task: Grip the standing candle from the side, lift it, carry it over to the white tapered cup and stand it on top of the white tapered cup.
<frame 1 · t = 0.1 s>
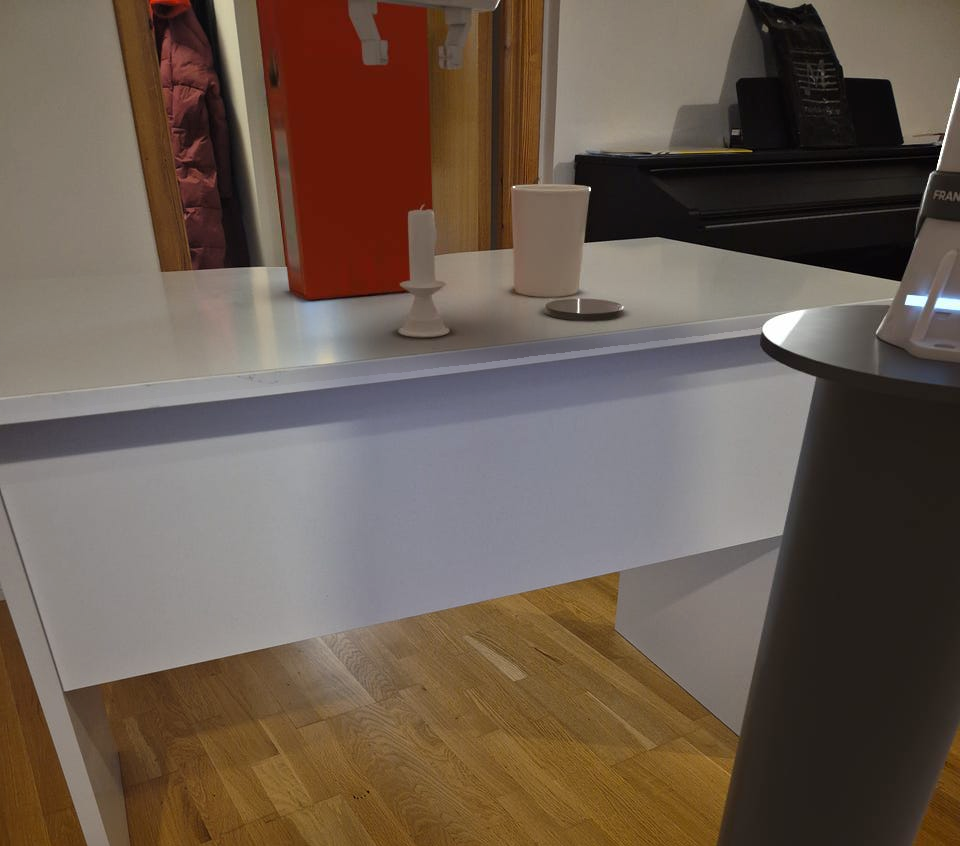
hand: (414, 67, 76), 23 cm above the table, tool pointing down, fingers open, 8 cm apart
slate coaster: (583, 312, 97), on the table
file binder: (362, 292, 109), on the table
white tapered cup: (546, 292, 109), on the table
candle: (424, 334, 88), on the table
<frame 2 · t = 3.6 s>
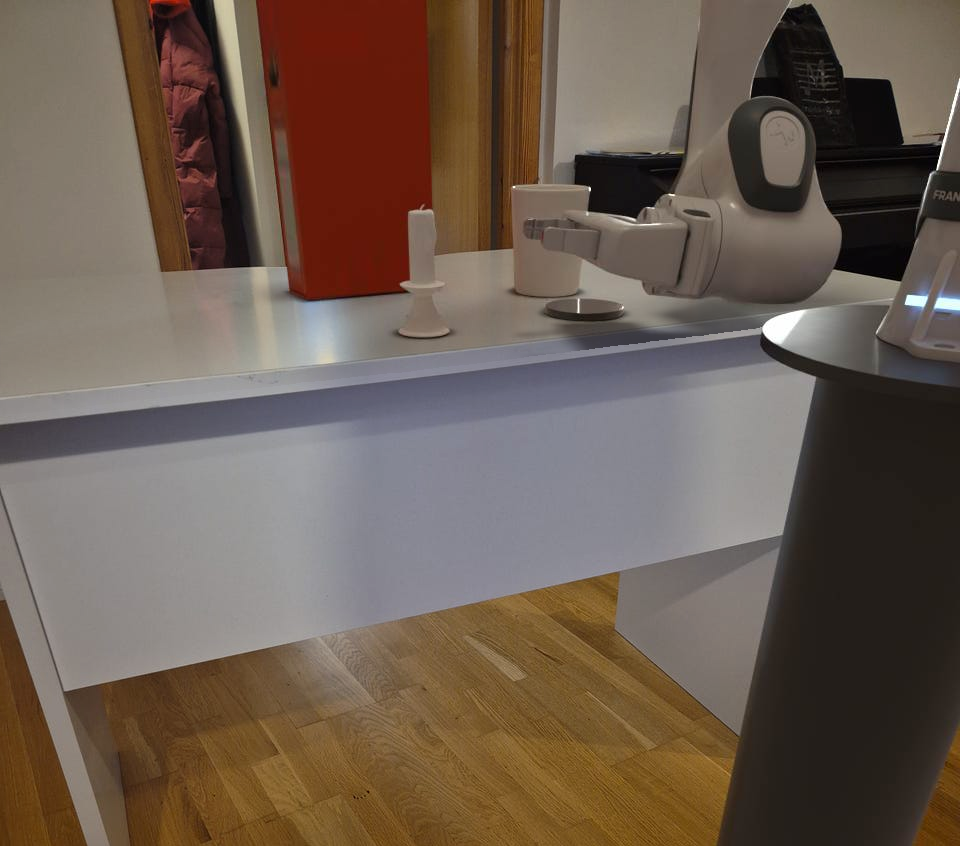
hand: (532, 232, 78), 10 cm above the table, tool horizontal, fingers open, 8 cm apart
nothing on the table moved.
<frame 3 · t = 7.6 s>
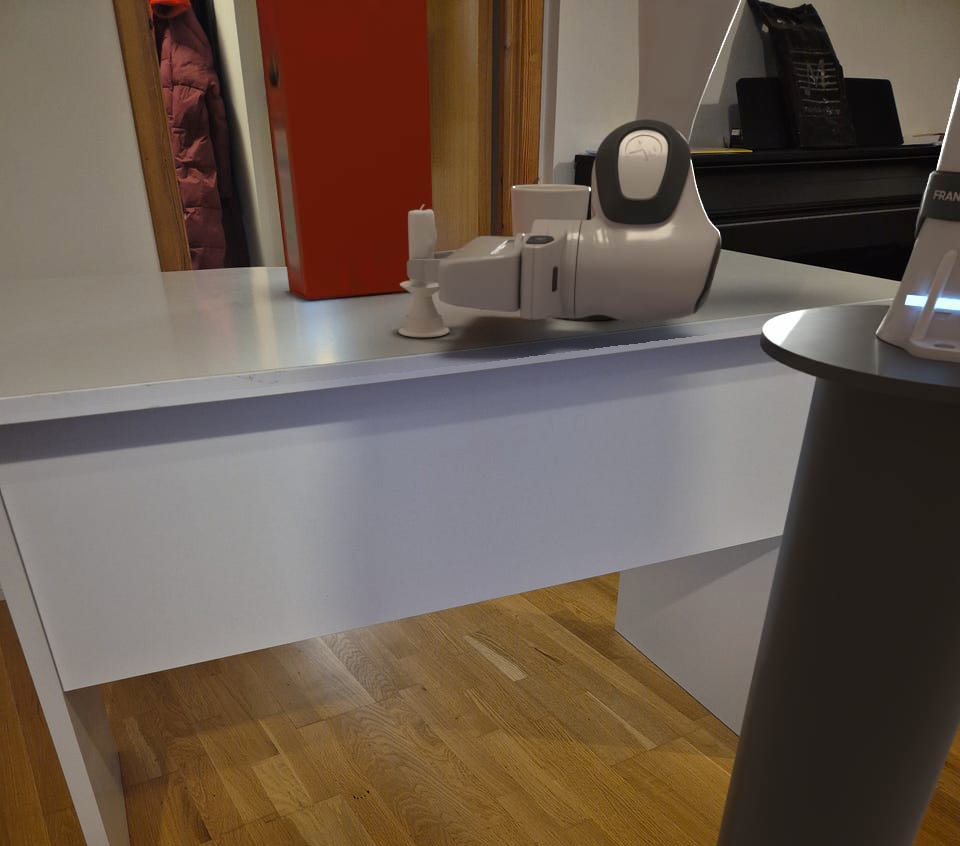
hand: (413, 265, 85), 7 cm above the table, tool horizontal, fingers closed on candle, 2 cm apart
candle: (424, 334, 88), on the table, touching gripper
everything else where it was.
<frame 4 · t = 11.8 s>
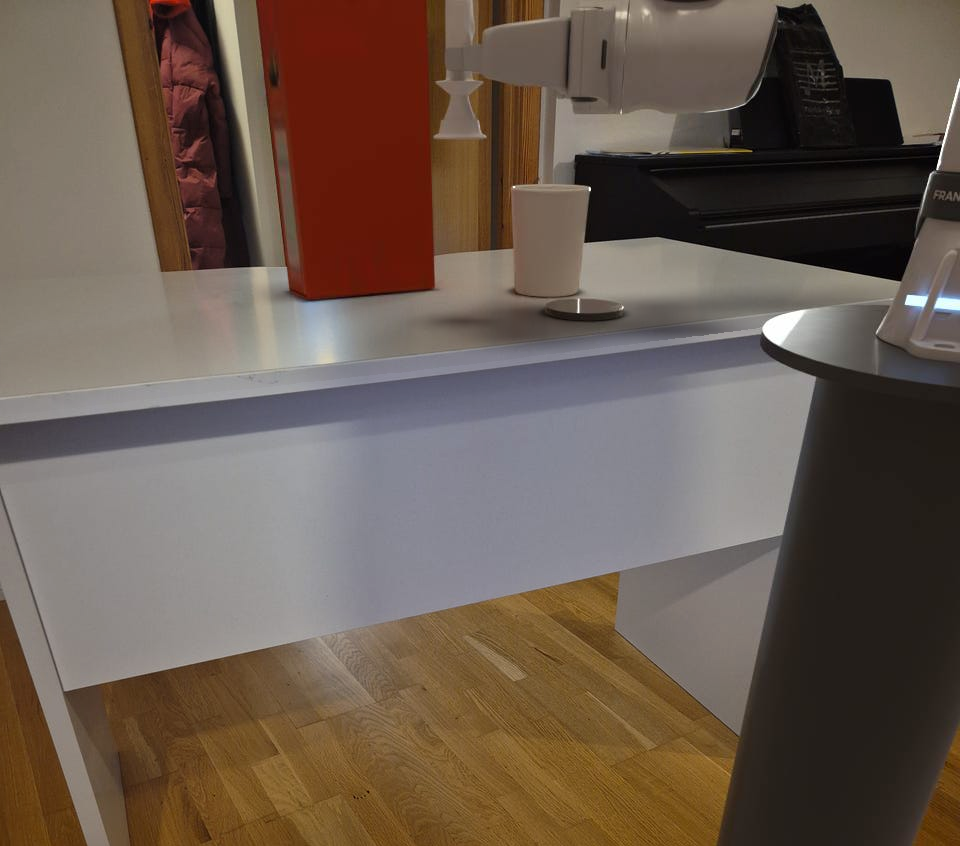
hand: (450, 60, 81), 24 cm above the table, tool horizontal, fingers closed on candle, 2 cm apart
candle: (459, 141, 84), point 17 cm above the table, touching gripper
everything else where it was.
when the fingers open (19 cm above the table, at t = 16.2 s): candle stays where it is, resting on white tapered cup.
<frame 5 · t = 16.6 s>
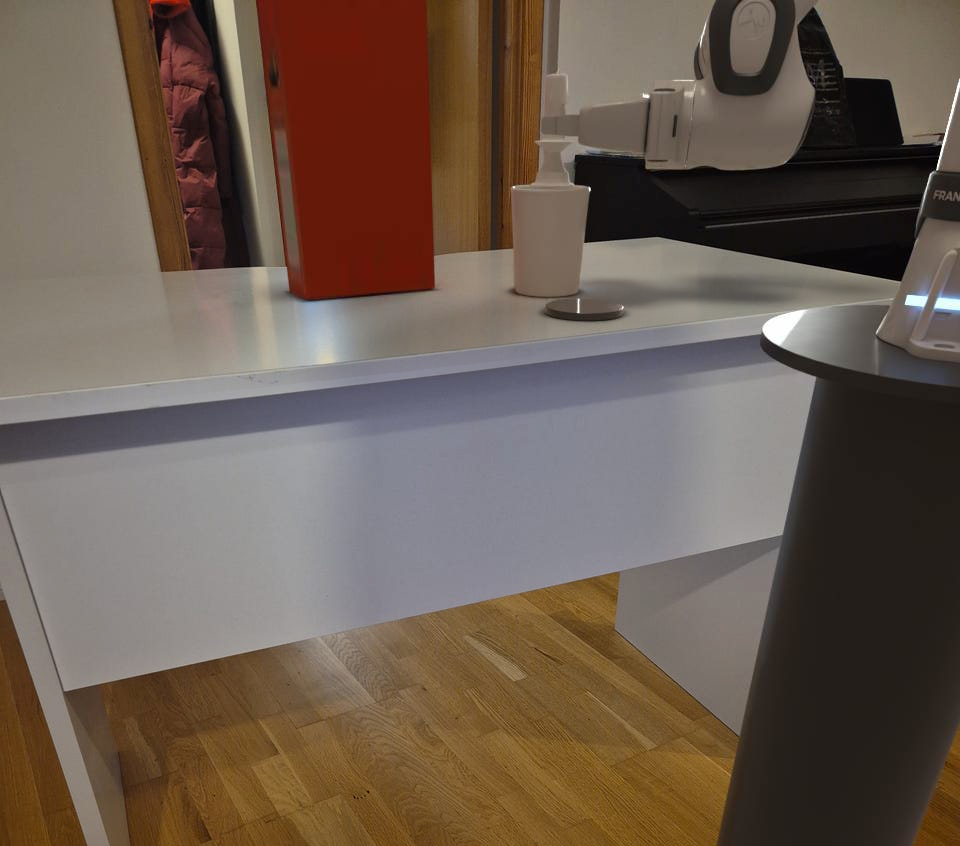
hand: (545, 125, 99), 18 cm above the table, tool horizontal, fingers open, 6 cm apart
white tapered cup: (546, 293, 109), on the table, touching candle
candle: (552, 188, 103), point 12 cm above the table, touching white tapered cup
everything else where it was.
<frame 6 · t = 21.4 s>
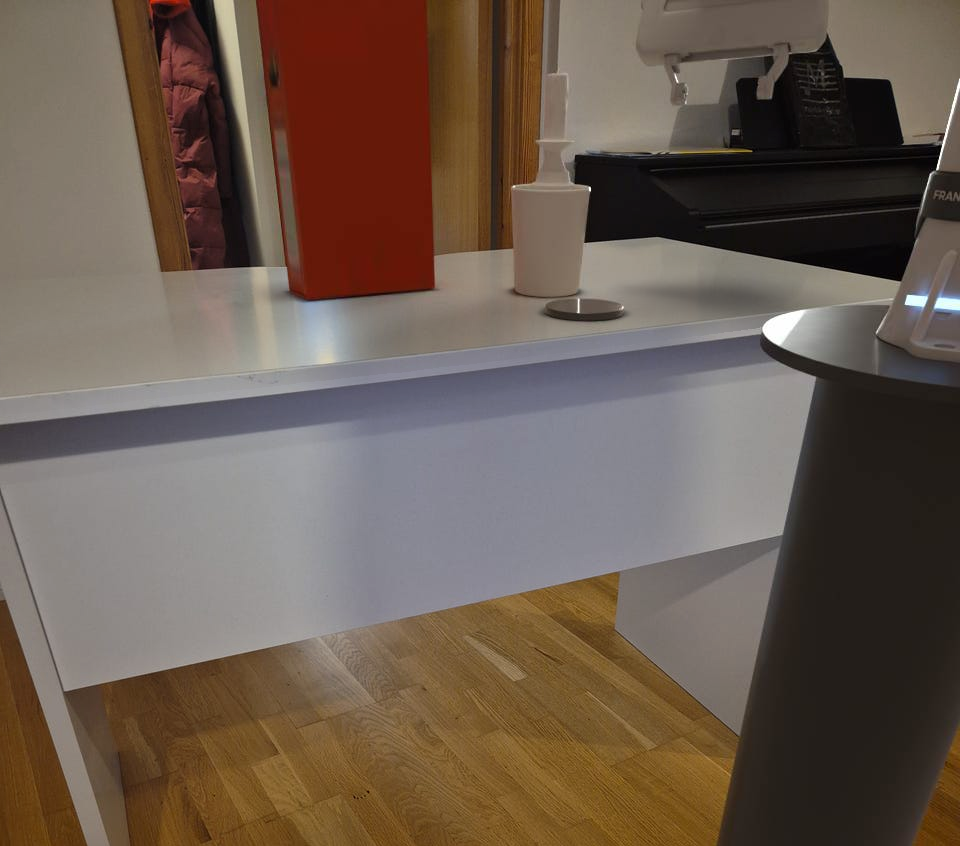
hand: (720, 100, 93), 21 cm above the table, tool tilted 20°, fingers open, 8 cm apart
nothing on the table moved.
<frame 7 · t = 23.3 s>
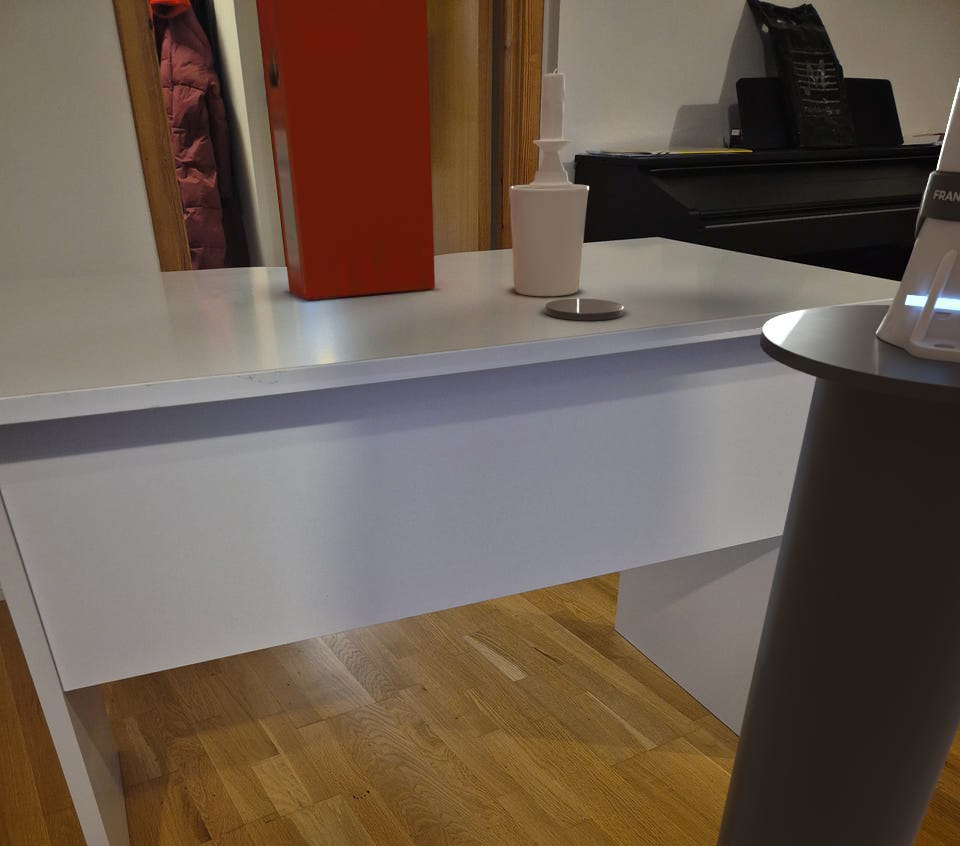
nothing on the table moved.
at the end: candle 0.3 cm from the white tapered cup (horizontally); candle inside the target area on the white tapered cup (0.2 cm from its centre), point 12.0 cm above the white tapered cup's base; candle tilted 1° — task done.
